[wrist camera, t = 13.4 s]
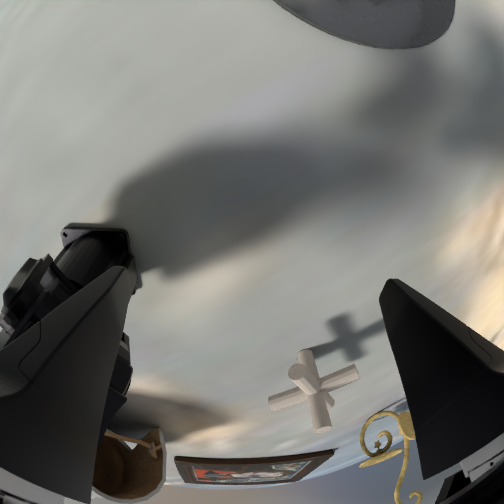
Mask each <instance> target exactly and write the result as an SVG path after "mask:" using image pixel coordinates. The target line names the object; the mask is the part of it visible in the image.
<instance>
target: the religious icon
mask: <svg viewBox="0 0 504 504" xmlns="http://www.w3.org/2000/svg"><path fill="white" fill-rule="evenodd" d="M333 455H334V451H332V450H328V451H321V452H315V453H308V454H301V455H292V456H282V457H269V458H250V459H209V458H192V457H179V456H175V457H174V461H175V464H176V467H177V470H178V472H179V474H180V476H181V477H182V479H183V480H184V482H185V483H194V484H213V485H258V484H276V483H288V482H296V481H299V480H301V479H302V478H303V477H305V476H306V475H308V474H309V473H310V472H312V471H313V470H314V469H316V468H317V467H319V466H320V465H321V464H322V463H324V462H325V461H326V460H328V459H329V458H330V457H332V456H333Z"/></svg>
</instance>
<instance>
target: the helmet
mask: <svg viewBox="0 0 504 504" xmlns="http://www.w3.org/2000/svg"><path fill="white" fill-rule="evenodd" d="M123 440H124V441H128V442H132V443H137V446H136V447H135V448H134V449H133V450H132V449H131V448H130V447H129V446H128V445H127V444H126V443H125V442H124V441H123ZM96 449H97V451H96V457H95V465H94V473H93V482H92V492H91V498H97V497H103V498H106V499H107V500H111V501H114V502H118V503H136V502H141V501H145V500H148V499H149V498H151V497H152V496H154V495H155V494H156V493H158V492H159V490H160V489H161V487H162V486H163V484H164V483H165V481H166V455H167V452H166V447H165V442H164V436H163V432H162V430H161V428H155V429H153V430H152V431H150V432H149V433H148V434H147V435H146V436H144V437H143V438H142V439H141V440H138V439H133V438H129V437H125V436H121V435H118V434H115V433H114V432H112V431H111V430H109V429H106V432H105V434H104V437H103V439H102V442H101V443H100V445H98V446H97V448H96Z"/></svg>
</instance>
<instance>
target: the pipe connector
mask: <svg viewBox="0 0 504 504" xmlns="http://www.w3.org/2000/svg"><path fill="white" fill-rule="evenodd" d="M297 356H298V361H299V364H295V365H293V366H292V367H291V368H290V369H289V371H288V376H289V378H290V379H291V380H292V381H293V382H294V383H295V384H296V385H297V386H298V387H296V388H293V389H290V390H287V391H284V392H282V393H279V394H276V395H273V396H269V398H268V402H269V406H270V408H271V409H272V410H273V411H276V410H279V409H282V408H285V407H288V406H291V405H294V404H297V403H300V402H303V401H306V400H307V401H308V406H309V410H310V415H311V420H312V424H313V429H314V432H315V433H322V432H326V431H328V430H330V429H331V428H332V425H331V421H330V417H329V413H328V410H329V409H331V408H332V407H333V406H334V399H333V398H332V397H331V396H330V395H329V393H328V392H330V391H333V390H335V389H338V388H340V387H342V386H345V385H347V384H349V383H352V382H354V381H356V380H359V379H360V376H359V374H358V371H357V369H356V366H355V364H352V365H350V366H348V367H346V368H343V369H341V370H339V371H336V372H334V373H332V374H329V375H327V376H324V377H322V378H319V374H318V371H317V367H316V363H315V360H314V356H313V352H312V350H310V349H305V350H302V351H300V352H299V353H298V354H297Z"/></svg>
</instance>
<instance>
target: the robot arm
mask: <svg viewBox="0 0 504 504" xmlns="http://www.w3.org/2000/svg"><path fill="white" fill-rule="evenodd" d="M65 232H66V233H67V234H68V235H67V234H66V233H65ZM120 234H122V235H123V236H124V237H121V236H120ZM61 237H62V241H63V245H64V248H63V250H62V251H61V252H60V253H59V255H58V256H57V257H56V259H55V260H54V261H53V258H52V257H51V256H50V255H49V254H47V255H46V256H45V257H44V258H43V259H42V258H40V259H39V260H36V259H32V258H29V259H28V260H27V261H26V262H25V264H24V265H23V266H22V267H21V269H20V270H19V271H18V272H17V274H16V275H15V276H14V278H13V279H12V281H11V282H10V284H9V285H8V287H7V288H6V290H5V291H4V293H3V302H4V305H3V308H2V310H1V315H0V326H1V327H2V328H3V330H2V331H1V333H0V504H64V497H68V498H71V499H73V500H77V501H80V502H83V503H86V504H90V502H91V492H92V482H93V473H94V465H95V457H96V451H97V449H96V448H97V446H98V445H100V443H101V442H102V439H103V437H104V434H105V432H106V429H107V427H108V425H109V423H110V421H111V419H112V418H113V416H114V415H115V413H116V412H117V410H118V409H119V408H120V407H121V406H122V405H123V404H124V403H125V402H126V400H127V398H126V397H125V395H126V393H127V391H128V389H129V386H130V383H131V377H132V373H133V368H132V366H131V363H130V348H129V337H128V336H127V335H126V334H125V333H124V332H123V329H124V324H125V318H126V313H127V307H128V303H129V301H130V298H131V295H134V294H135V293H136V289H137V288H136V282H137V273H136V267H135V260H134V256H133V254H131V250H130V243H129V235H128V232H127V231H126V230H124V229H110V228H82V227H64V228H63V229H62V230H61ZM379 303H380V307H381V311H382V315H383V319H384V323H385V327H386V331H387V335H388V339H389V342H390V345H391V348H392V351H393V354H394V357H395V361H396V364H397V367H398V370H399V374H400V377H401V381H402V384H403V388H404V391H405V395H406V399H407V403H408V407H409V411H410V415H411V419H412V423H413V428H414V432H415V438H416V442H417V448H418V453H419V458H420V463H421V470H422V476H423V480H425V479H427V478H430V477H432V476H434V475H436V474H438V473H440V472H442V471H444V470H446V469H448V468H450V467H452V466H453V465H455V464H457V463H459V462H460V464H461V467H462V469H461V470H459V471H458V472H456V473H454V474H453V475H451V476H449V477H447V478H446V479H445V481H444V483H443V486H442V488H441V491H440V493H439V495H438V498H437V500H436V502H435V504H504V351H503V350H502V349H500V348H499V347H497V346H496V345H494V344H493V343H491V342H490V341H488V340H487V339H485V338H484V337H482V336H481V335H480V334H478V333H477V332H475V331H474V330H472V329H471V328H470V327H468V326H466V324H464V323H463V322H461V321H460V320H458V319H457V318H456V317H454V316H453V315H451V314H450V313H448V312H447V311H446V310H444V309H443V308H441V307H440V306H438V305H437V304H435V303H434V302H432V301H431V300H429V299H428V298H427V297H425V296H424V295H422V294H421V293H419V292H417V291H416V290H414V289H413V288H411V287H410V286H408V285H407V284H405V283H404V282H402V281H401V280H399V279H388V280H387V281H386V283H385V285H384V288H383V290H382V292H381V294H380V297H379Z"/></svg>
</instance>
